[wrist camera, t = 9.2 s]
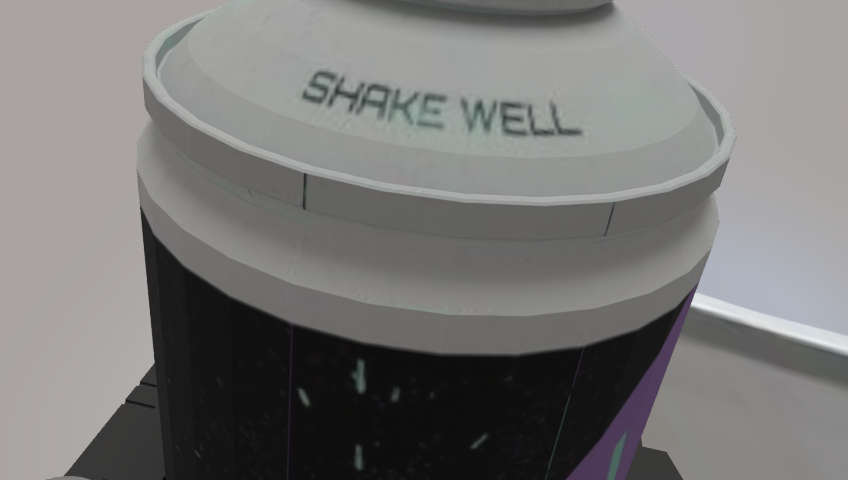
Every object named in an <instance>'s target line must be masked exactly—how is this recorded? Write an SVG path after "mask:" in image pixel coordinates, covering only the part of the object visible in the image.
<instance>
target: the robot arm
mask: <svg viewBox="0 0 848 480" xmlns="http://www.w3.org/2000/svg"><path fill="white" fill-rule="evenodd" d="M47 480H166V477H165V466H164V456H163V445H162V434H161V424H160V413H159V402H158V392H157V381H156V370H155V364H154V365H153V366H152V367H151V368H150V370H149V371H148V372H147V373H146V375H145V376H144V377H143V378H142V380H141V381H140V385H139V386H136V387H135V388H134V390H133V391H132V392H131V393H130V395H129V396H128V397H127V398H126V401H125V404H122V405H121V406H120V407H119V408H118V410H117V411H116V412H115V413H114V414H113V416H112V417H111V418H110V420H109V421H108V422H107V423H106V424H105V426H104V427H103V428H102V429H101V431H100V432H99V433H98V434H97V436H96V437H95V438H94V439H93V441H92V442H91V443H90V444H89V446H88V447H87V448H86V450H85V451H84V452H83V453H82V454H81V456H80V457H79V458H78V460H77V461H76V462H75V463H74V464H73V466H72V467H71V468H70V470H69V471H68V472H67V473H66V474H65V475H64V476H63V477H55V478H51V479H47ZM625 480H683V479H682V477H681V475H680V474H679V472H678V470H677V469H676V467H675V465H674V464H673V462H672V460H671V459H670V457H669V456H668V454H667V452H664V451H660V450H655V449H651V448H646V447H642V441H641V438H640V441H639V444H638V446H637V449H636V452H635V454H634V457H633V460H632V462H631V465H630V468H629V470H628V473H627V476H626V478H625Z"/></svg>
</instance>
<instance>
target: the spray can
mask: <svg viewBox="0 0 848 480" xmlns="http://www.w3.org/2000/svg"><path fill="white" fill-rule="evenodd" d="M612 1H613V0H229V1H227V2H226V3H225V4H223V5H222V6H221V7H219V8H216V9H212V10H208V11H204V12H202V13H199V14H196V15H194V16H191V17H189V18H186V19H184V20H181V21H179V22H176V23H175V24H173V25H172V26H170V27H169V28H167V29H166V30H164V31H163V32H162V33H160V34H159V35H157V36H156V37H155V38H154V39H153V40H152V42H151V44H150V45H149V46H148V48H147V49H146V51H145V52H144V54H143V55H142V66H143V67H142V68H143V69H142V70H143V88H144V100H145V107H146V110H147V111H148V113H149V114H150V116H151V117H150V118H149V120H148V121H147V123H146V125H145V127H144V129H143V131H142V133H141V135H140V137H139V139H138V141H137V177H138V189H139V199H140V210H141V220H142V231H143V242H144V253H145V263H146V274H147V285H148V295H149V306H150V317H151V328H152V338H153V349H154V360H155V370H156V381H157V392H158V402H159V413H160V424H161V434H162V445H163V456H164V466H165V477H166V480H625V478H626V476H627V473H628V470H629V468H630V465H631V462H632V460H633V457H634V454H635V452H636V449H637V446H638V444H639V441H640V438H641V436H642V433H643V430H644V428H645V425H646V422H647V420H648V417H649V414H650V412H651V409H652V406H653V404H654V401H655V398H656V396H657V393H658V390H659V388H660V385H661V382H662V380H663V377H664V374H665V372H666V369H667V366H668V363H669V361H670V358H671V355H672V353H673V350H674V347H675V345H676V342H677V339H678V337H679V334H680V331H681V329H682V326H683V323H684V321H685V318H686V315H687V313H688V310H689V307H690V305H691V302H692V299H693V297H694V294H695V291H696V289H697V286H698V283H699V281H700V278H701V275H702V273H703V270H704V267H705V265H706V262H707V259H708V257H709V254H710V251H711V248H712V245H713V242H714V239H715V236H716V232H717V229H718V226H719V223H720V222H719V216H718V210H717V205H716V198H715V195H714V193H713V192H714V191H715V190H716V189H717V188H718V187H719V186H720V184H721V181H722V178H723V175H724V173H725V170H726V167H727V164H728V162H729V159H730V156H731V153H732V150H733V148H734V145H735V142H736V139H737V135H736V132H735V128H734V125H733V121H732V117H731V116H730V115H729V113H728V112H727V111H726V110H725V108H724V107H723V106H722V105H721V103H720V102H719V101H718V100H717V98H716V97H715V96H714V95H713V94H711V93H710V92H709V91H707V90H706V89H705V88H703V87H702V86H701V85H700V84H698V83H697V82H696V81H695V80H693V79H692V78H690V77H689V76H687V75H685V74H683V73H681V72H680V71H678V70H677V69H676V68H675V67H674V65H673V64H672V63H671V62H670V61H669V59H668V58H667V57H666V56H665V54H664V53H663V52H662V51H661V49H660V48H659V47H658V46H657V44H656V43H655V42H654V41H653V40H652V39H651V38H650V37H649V36H648V35H647V34H646V33H645V32H644V31H643V30H642V29H641V28H640V27H639V26H638V25H637V23H636V22H635V21H634V20H633V19H632V18H631V17H630V16H628V15H627V14H626V13H625V12H624V11H623V10H621V9H620V8H619V7H618V6H617V5H615V4H614V3H613V2H612Z"/></svg>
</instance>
